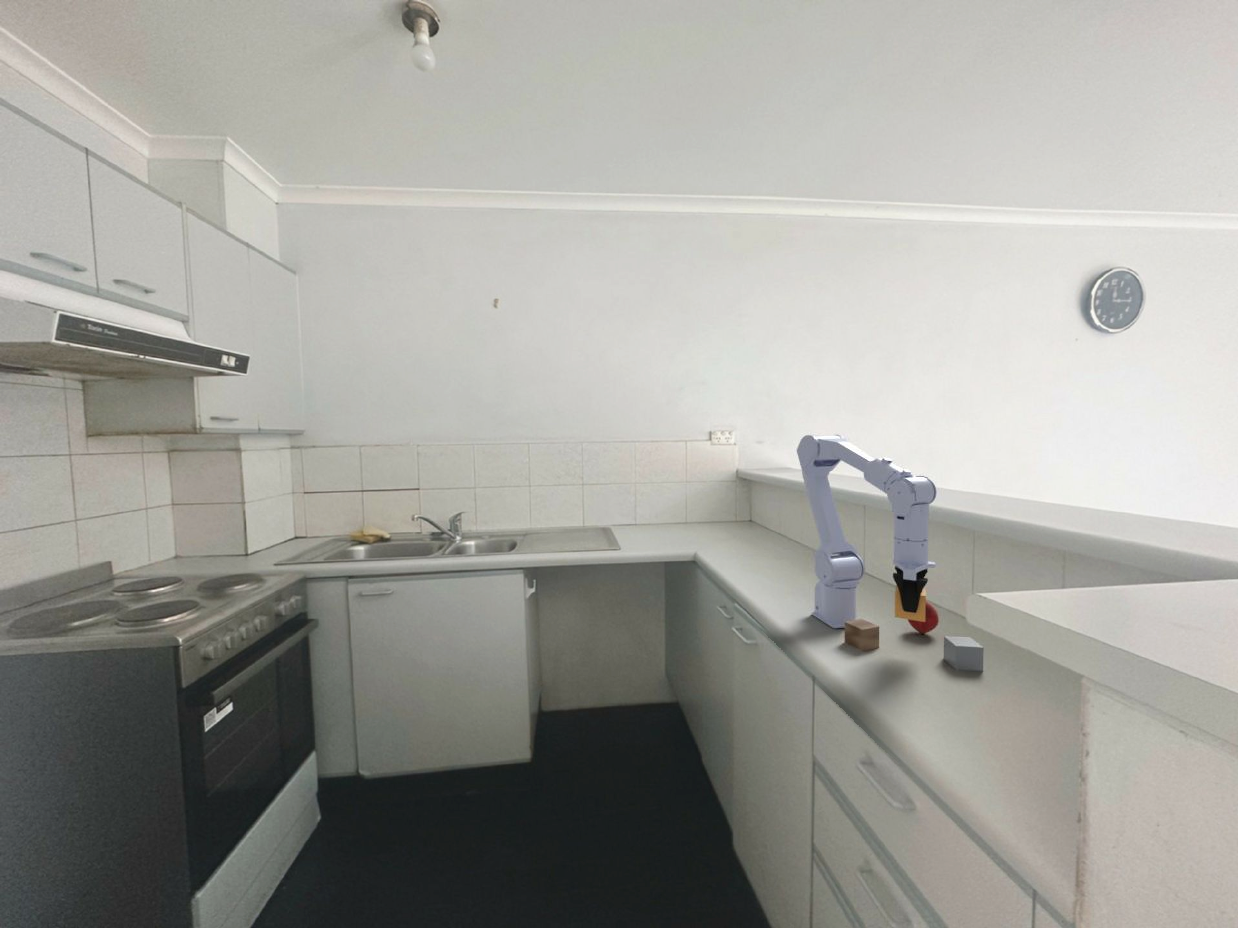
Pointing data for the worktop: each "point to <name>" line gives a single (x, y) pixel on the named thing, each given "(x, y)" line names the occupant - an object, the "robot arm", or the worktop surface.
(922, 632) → the onion
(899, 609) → the orange block
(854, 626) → the walnut block
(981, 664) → the slate block
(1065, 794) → the worktop surface
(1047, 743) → the worktop surface
